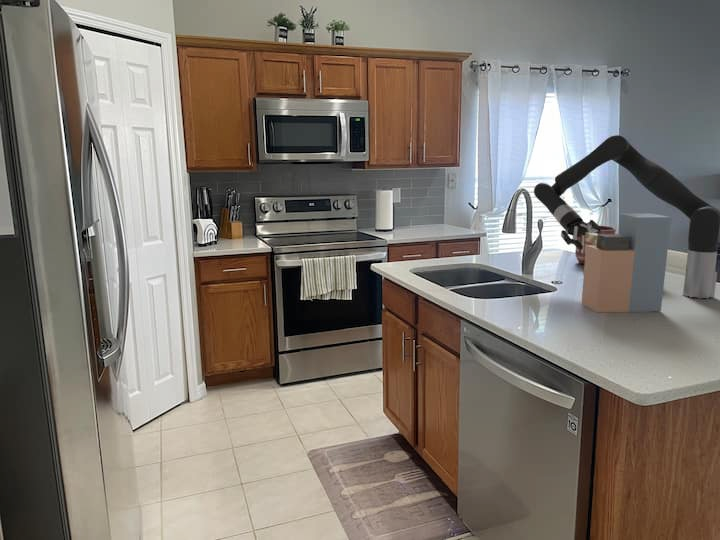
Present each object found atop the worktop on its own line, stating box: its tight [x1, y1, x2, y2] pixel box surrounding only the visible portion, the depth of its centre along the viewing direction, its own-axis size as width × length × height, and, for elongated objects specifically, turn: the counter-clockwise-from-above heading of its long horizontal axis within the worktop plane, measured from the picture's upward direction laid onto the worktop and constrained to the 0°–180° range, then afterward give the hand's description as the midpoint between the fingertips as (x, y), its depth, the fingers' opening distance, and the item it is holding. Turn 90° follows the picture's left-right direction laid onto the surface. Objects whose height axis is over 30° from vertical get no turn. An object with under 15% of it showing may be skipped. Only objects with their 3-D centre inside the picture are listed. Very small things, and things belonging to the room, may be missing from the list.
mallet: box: [585, 233, 629, 250], centre depth 192 cm, size 21×8×4 cm, turn 1°
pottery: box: [575, 225, 617, 266], centre depth 264 cm, size 18×18×18 cm
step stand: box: [581, 212, 672, 313], centre depth 188 cm, size 22×12×32 cm, turn 91°
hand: (592, 244), depth 209 cm, fingers open, 8 cm apart
